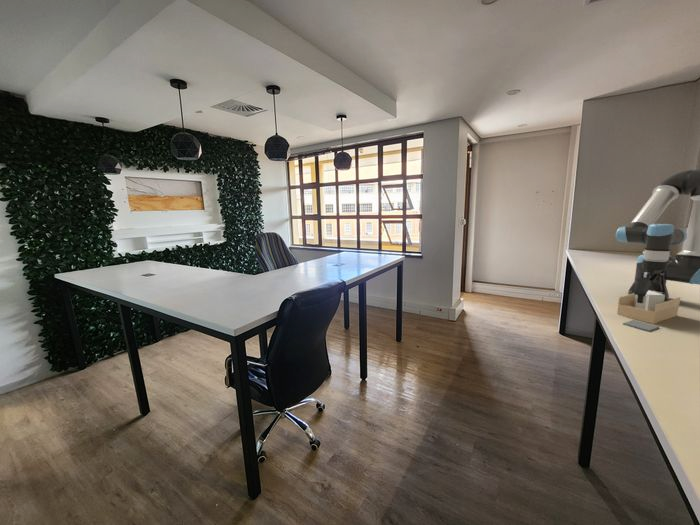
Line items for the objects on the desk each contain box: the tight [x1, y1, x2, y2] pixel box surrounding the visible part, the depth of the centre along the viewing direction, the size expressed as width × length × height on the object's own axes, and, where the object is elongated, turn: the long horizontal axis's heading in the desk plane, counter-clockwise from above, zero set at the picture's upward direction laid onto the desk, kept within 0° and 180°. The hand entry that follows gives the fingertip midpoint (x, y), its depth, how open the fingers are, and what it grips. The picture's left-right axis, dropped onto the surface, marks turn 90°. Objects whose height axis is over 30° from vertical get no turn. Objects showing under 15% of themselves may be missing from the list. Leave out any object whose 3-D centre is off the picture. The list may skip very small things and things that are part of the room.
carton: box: [616, 294, 681, 325], centre depth 127 cm, size 21×12×8 cm, turn 114°
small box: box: [634, 290, 665, 312], centre depth 127 cm, size 8×6×10 cm
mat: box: [622, 319, 660, 333], centre depth 116 cm, size 8×8×1 cm
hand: (647, 307), depth 128 cm, fingers open, 13 cm apart
